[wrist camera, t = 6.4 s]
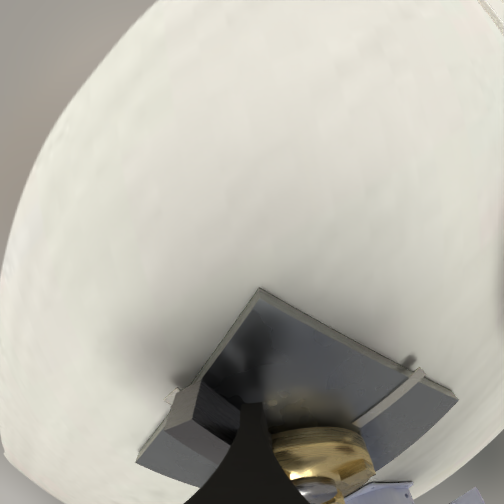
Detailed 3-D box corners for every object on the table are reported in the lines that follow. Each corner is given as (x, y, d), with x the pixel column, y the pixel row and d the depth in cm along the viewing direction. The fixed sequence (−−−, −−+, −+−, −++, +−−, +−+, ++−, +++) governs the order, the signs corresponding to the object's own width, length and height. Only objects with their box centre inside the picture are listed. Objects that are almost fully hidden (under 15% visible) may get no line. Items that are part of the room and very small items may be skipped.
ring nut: (382, 454, 14) (393, 483, 11) (281, 496, 15) (283, 523, 12) (263, 341, 11) (266, 390, 8) (136, 412, 12) (119, 450, 9)
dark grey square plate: (458, 383, 14) (466, 392, 13) (310, 499, 18) (311, 508, 17) (250, 261, 12) (249, 270, 10) (128, 446, 16) (123, 458, 14)
